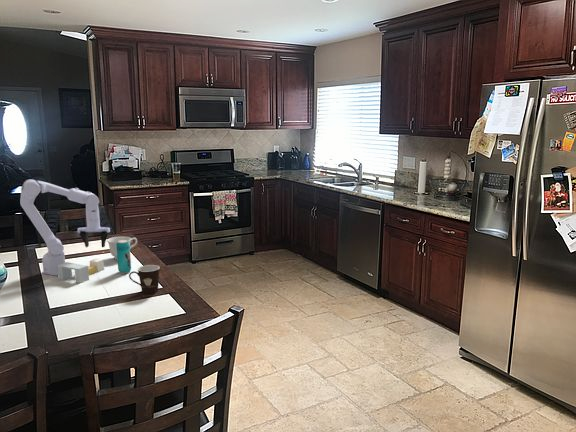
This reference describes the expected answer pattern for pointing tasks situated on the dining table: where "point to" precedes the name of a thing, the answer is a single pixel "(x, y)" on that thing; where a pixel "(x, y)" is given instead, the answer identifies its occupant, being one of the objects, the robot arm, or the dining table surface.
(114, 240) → the teacup
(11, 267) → the dining table surface
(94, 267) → the plug
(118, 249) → the beverage can
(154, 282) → the coffee mug
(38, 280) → the dining table surface
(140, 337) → the dining table surface
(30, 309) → the dining table surface
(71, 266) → the housing
